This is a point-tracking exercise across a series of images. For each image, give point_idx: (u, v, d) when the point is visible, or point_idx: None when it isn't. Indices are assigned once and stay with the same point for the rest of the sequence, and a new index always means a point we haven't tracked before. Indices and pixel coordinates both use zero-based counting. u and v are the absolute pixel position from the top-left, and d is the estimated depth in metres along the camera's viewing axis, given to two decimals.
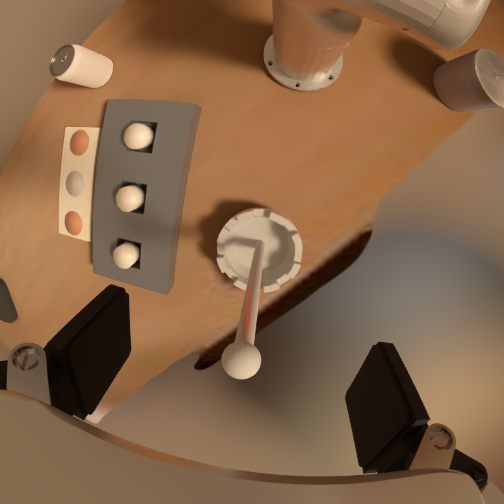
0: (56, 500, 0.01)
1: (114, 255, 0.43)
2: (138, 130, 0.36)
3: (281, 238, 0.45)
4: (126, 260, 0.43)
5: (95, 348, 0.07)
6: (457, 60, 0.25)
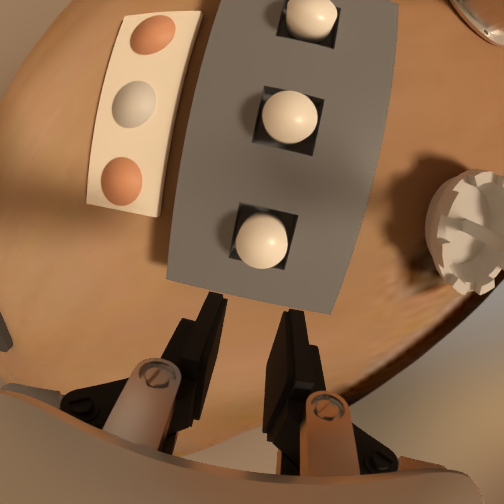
0: (56, 500, 0.01)
1: (240, 239, 0.22)
2: (319, 3, 0.15)
3: (485, 217, 0.23)
4: (270, 250, 0.22)
5: (212, 354, 0.08)
6: None
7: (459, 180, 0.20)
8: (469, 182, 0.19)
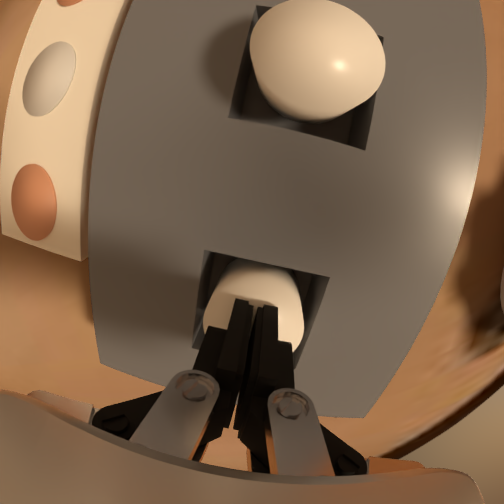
0: (56, 500, 0.01)
1: (211, 319, 0.11)
2: None
3: None
4: None
5: None
6: None
7: None
8: None
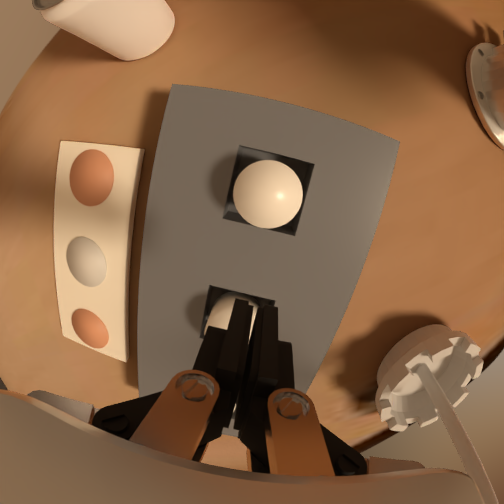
0: (56, 500, 0.01)
1: None
2: (279, 181, 0.15)
3: (446, 357, 0.25)
4: None
5: None
6: None
7: (416, 354, 0.21)
8: (427, 354, 0.21)
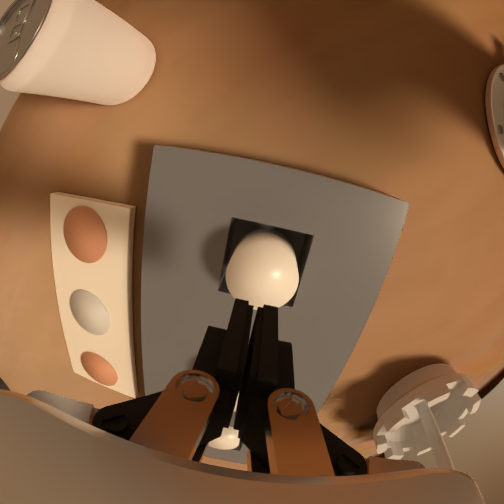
0: (56, 500, 0.01)
1: None
2: (274, 266, 0.15)
3: None
4: (226, 443, 0.24)
5: None
6: None
7: (412, 399, 0.20)
8: (424, 398, 0.20)
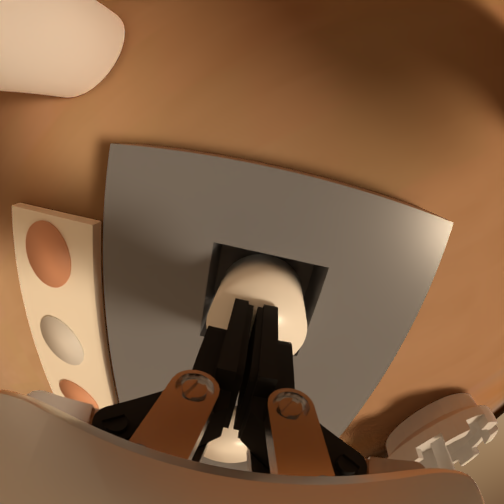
0: (56, 500, 0.01)
1: None
2: None
3: None
4: None
5: None
6: None
7: (429, 438, 0.15)
8: (440, 436, 0.15)
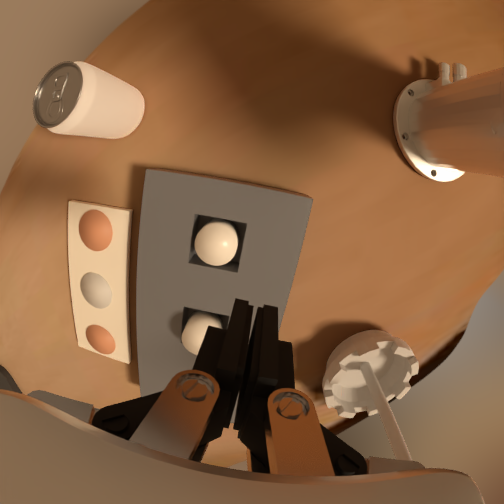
0: (56, 500, 0.01)
1: None
2: (221, 237, 0.26)
3: (388, 356, 0.33)
4: None
5: None
6: None
7: (347, 354, 0.30)
8: (358, 354, 0.29)
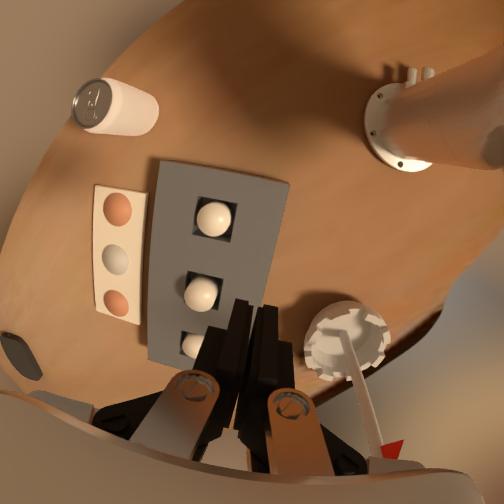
0: (56, 500, 0.01)
1: (184, 346, 0.40)
2: (217, 213, 0.33)
3: (364, 326, 0.40)
4: None
5: None
6: None
7: (323, 318, 0.37)
8: (332, 319, 0.36)
